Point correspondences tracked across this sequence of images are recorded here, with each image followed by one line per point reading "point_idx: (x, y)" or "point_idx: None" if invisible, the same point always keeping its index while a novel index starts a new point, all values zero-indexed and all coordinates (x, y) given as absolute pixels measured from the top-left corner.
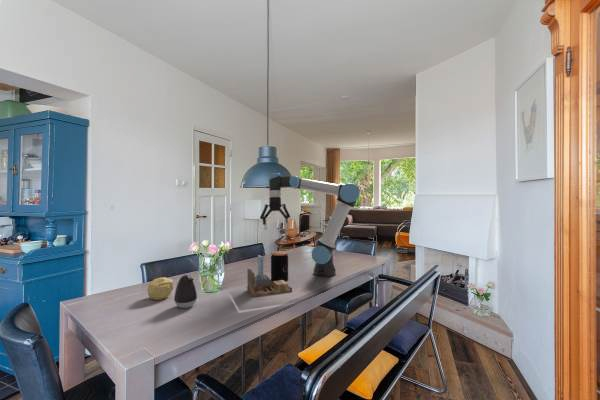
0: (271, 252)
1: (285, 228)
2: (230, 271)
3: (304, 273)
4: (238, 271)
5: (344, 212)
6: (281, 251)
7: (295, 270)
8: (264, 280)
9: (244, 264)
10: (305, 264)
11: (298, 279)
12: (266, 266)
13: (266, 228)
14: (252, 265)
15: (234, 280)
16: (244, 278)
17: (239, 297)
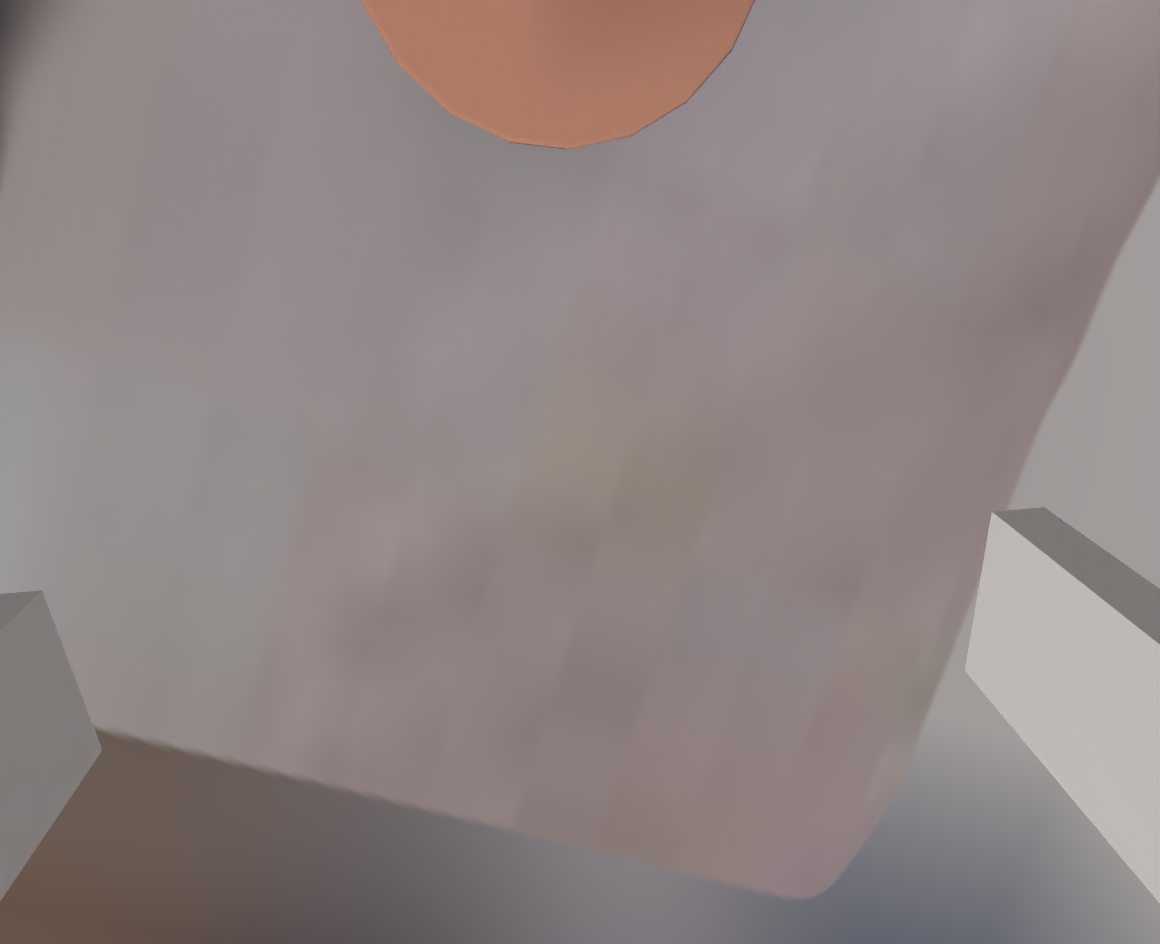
0: (741, 14)
1: (28, 599)
2: (937, 653)
3: (110, 276)
4: (862, 628)
5: None
6: (476, 40)
7: (206, 459)
8: None
9: (716, 856)
10: None
11: (261, 4)
12: (514, 726)
13: (1049, 542)
14: (650, 802)
15: (1030, 294)
16: (902, 334)
17: None
